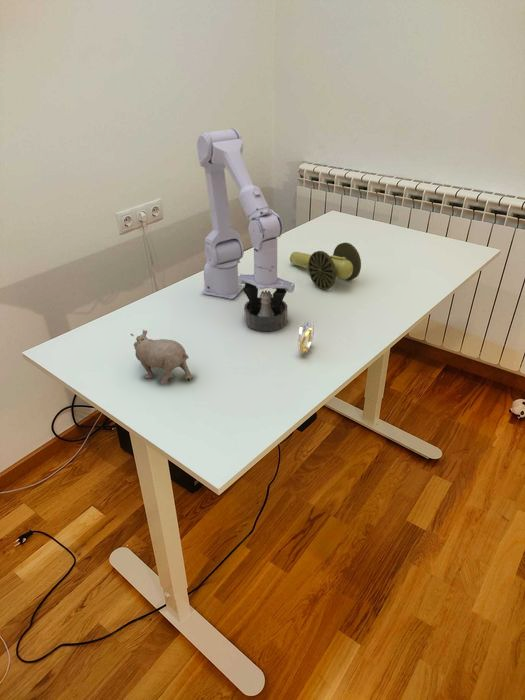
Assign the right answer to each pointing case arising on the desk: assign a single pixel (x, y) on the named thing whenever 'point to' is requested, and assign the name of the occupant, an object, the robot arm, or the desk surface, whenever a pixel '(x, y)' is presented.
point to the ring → (311, 333)
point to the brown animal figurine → (161, 356)
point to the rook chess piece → (265, 304)
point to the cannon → (330, 265)
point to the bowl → (265, 322)
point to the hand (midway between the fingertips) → (265, 311)
